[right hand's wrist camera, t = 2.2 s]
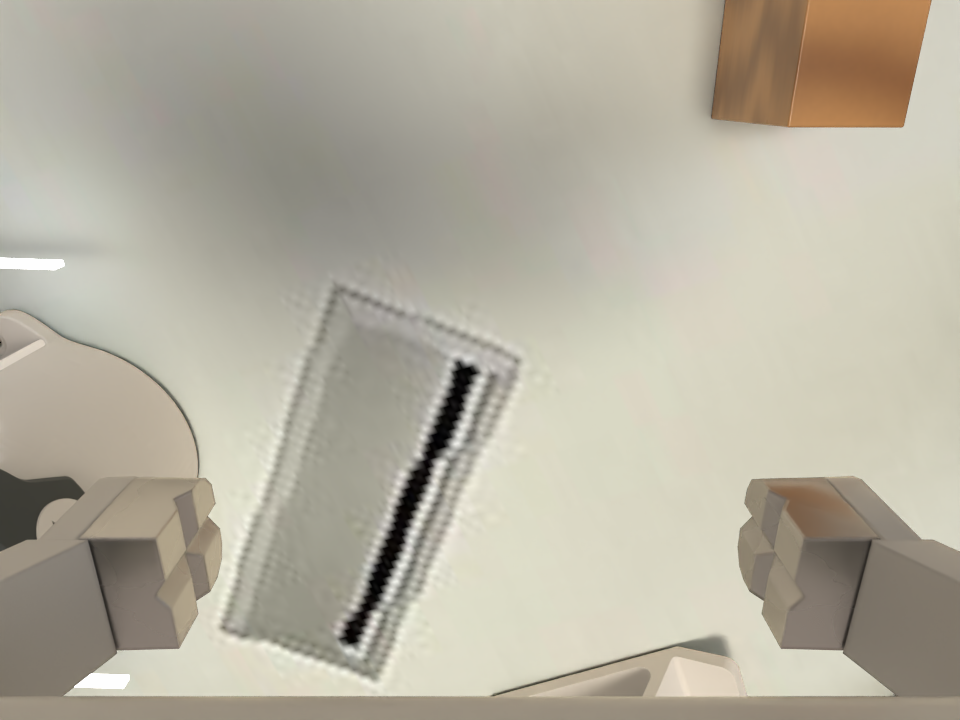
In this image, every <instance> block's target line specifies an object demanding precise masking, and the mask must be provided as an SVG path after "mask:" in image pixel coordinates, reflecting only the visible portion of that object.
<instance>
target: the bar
mask: <svg viewBox="0 0 960 720" xmlns="http://www.w3.org/2000/svg"><path fill="white" fill-rule="evenodd" d="M930 5H931V0H726V2H725V10H724V18H723V26H722V35H721V43H720V51H719V59H718V68H717V76H716V84H715V92H714V101H713V109H712V117H711V118H712V119H719V120H728V121H737V122H746V123H755V124H764V125H773V126H782V127H903V126H904V122H905V118H906V113H907V109H908V104H909V100H910V95H911V91H912V86H913V82H914V77H915V73H916V68H917V63H918V59H919V54H920V50H921V45H922V41H923V36H924V32H925V27H926V23H927V18H928V14H929V9H930Z"/></svg>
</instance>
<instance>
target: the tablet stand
mask: <svg viewBox="0 0 960 720" xmlns="http://www.w3.org/2000/svg"><path fill="white" fill-rule="evenodd" d="M496 696H500V697H622V696H747V693H746V689H745V686H744V683H743V679H742V676H741V672H740V669H739V666H738V664H737V663H736V662H735V661H734V660H732V659H731V658H729V657H726V656H722V655H717V654H712V653H707V652H702V651H697V650H693V649H688V648H683V647H678V646H676V647H673V648H669V649H665V650H662V651H658V652H654V653H651V654H647V655H643V656H640V657H636V658H632V659H628V660H625V661H621V662H617V663H614V664H610V665H606V666H603V667H599V668H595V669H592V670H588V671H584V672H581V673H577V674H573V675H570V676H566V677H562V678H559V679H555V680H551V681H547V682H544V683H540V684H536V685H533V686H529V687H525V688H522V689H518V690H514V691H511V692H507V693H503V694H500V695H496Z"/></svg>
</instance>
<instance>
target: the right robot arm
mask: <svg viewBox="0 0 960 720" xmlns="http://www.w3.org/2000/svg"><path fill="white" fill-rule="evenodd" d="M63 266H64V262H63V260H44V259H16V258H0V268H17V269H45V270H56V269H58V268H61V267H63ZM0 340H1V343H2V345H1V344H0V720H960V552H959V551H957V550H955V549H953V548H950V547H948V546H946V545H944V544H941V543H939V542H937V541H935V540H922V539H921V538H920V537H919V536H918V535H917V534H916V533H915V532H914V531H913V530H912V529H911V528H910V527H909V526H908V525H907V524H906V523H905V522H904V521H903V520H902V519H901V518H900V517H899V516H898V515H897V514H896V513H895V512H894V511H893V510H892V509H891V508H890V507H889V506H888V505H887V504H886V503H885V502H884V501H883V500H882V499H881V498H880V497H879V496H878V495H877V494H876V493H875V492H874V491H873V490H872V489H871V488H870V487H869V486H868V485H867V484H866V483H865V482H864V481H863V480H862V479H859V478H856V477H854V476H843V477H816V478H776V479H752V480H751V482H750V484H749V486H748V488H747V492H746V498H745V503H744V504H745V505H746V507H747V508H748V510H749V511H750V513H751V515H752V517H751V518H750V519H749V520H748V521H747V522H746V523H745V524H744V525H743V526H742V527H741V528H740V534H739V541H738V557H739V567H740V570H741V573H742V577H743V580H744V582H745V583H746V585H747V587H748V589H749V591H750V592H751V593H753V594H754V595H756V596H757V597H759V598H760V599H762V600H763V601H764V603H763V609H762V615H763V617H764V619H765V621H766V622H767V624H768V626H769V628H770V630H771V631H772V633H773V635H774V637H775V639H776V640H777V642H778V644H779V646H780V648H781V649H813V650H844V651H843V654H845V655H846V656H847V657H849V658H850V659H851V660H852V661H854V662H855V663H856V664H857V665H859V666H860V667H861V668H863V669H864V670H865V671H866V672H868V673H869V674H870V675H871V676H873V677H874V678H875V679H877V680H878V681H879V682H880V683H882V684H883V685H884V686H885V687H887V688H888V689H889V690H891V691H892V692H893V693H894V694H896V695H897V696H622V697H500V696H63V695H65V694H66V693H67V692H68V691H70V690H71V689H72V688H74V687H89V688H124V687H125V685H126V684H127V682H128V680H129V679H130V678H129V675H113V674H91V673H93V672H94V671H95V670H96V669H98V668H99V667H100V666H102V665H103V664H104V663H105V662H107V661H108V660H109V659H110V658H112V657H113V656H114V655H116V654H117V651H116V650H146V649H179V648H180V646H181V644H182V642H183V641H184V639H185V637H186V635H187V633H188V632H189V630H190V628H191V626H192V624H193V622H194V621H195V619H196V617H197V615H198V609H197V603H196V601H197V600H198V599H200V598H201V597H203V596H204V595H206V594H207V593H209V592H210V591H211V589H212V587H213V585H214V583H215V581H216V579H217V577H218V573H219V569H220V564H221V560H222V539H221V533H220V528H219V527H218V526H217V525H216V524H215V523H214V522H213V521H212V520H211V519H210V518H209V517H208V515H209V513H210V511H211V510H212V508H213V507H214V505H215V504H216V503H215V498H214V494H213V489H212V484H211V483H210V482H209V481H208V480H207V479H206V478H197V476H198V457H197V451H196V446H195V442H194V438H193V436H192V433H191V430H190V428H189V426H188V424H187V422H186V420H185V418H184V416H183V414H182V413H181V411H180V410H179V408H178V407H177V405H176V404H175V403H174V401H173V400H172V399H171V398H170V396H169V395H168V394H167V393H166V392H165V391H164V390H163V389H162V388H161V387H160V386H159V385H158V384H157V383H156V382H155V381H154V380H152V379H151V378H150V377H149V376H148V375H146V374H145V373H144V372H142V371H141V370H139V369H138V368H136V367H135V366H133V365H132V364H130V363H128V362H126V361H125V360H123V359H121V358H119V357H117V356H114V355H112V354H110V353H107V352H105V351H102V350H99V349H96V348H92V347H89V346H86V345H82V344H79V343H76V342H73V341H70V340H68V339H66V338H63V337H61V336H60V335H59V334H57V333H56V332H54V331H53V330H52V329H50V328H49V327H47V326H46V325H45V324H43V323H42V322H40V321H39V320H37V319H35V318H34V317H32V316H30V315H29V314H27V313H24V312H22V311H19V310H6V311H4V312H1V313H0Z"/></svg>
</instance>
